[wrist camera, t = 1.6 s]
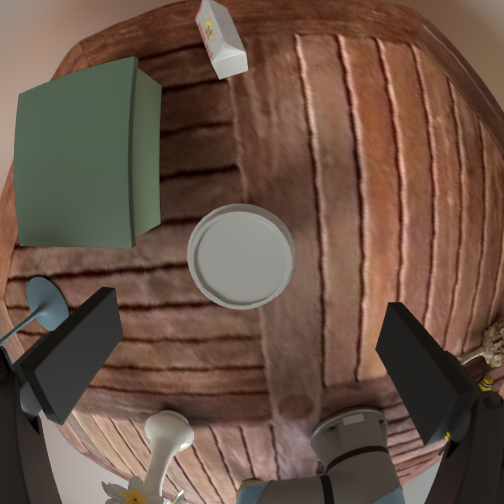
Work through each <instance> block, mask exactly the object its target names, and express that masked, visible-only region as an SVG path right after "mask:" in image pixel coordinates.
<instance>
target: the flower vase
mask: <svg viewBox="0 0 504 504" xmlns="http://www.w3.org/2000/svg"><path fill="white" fill-rule="evenodd" d="M144 431H145V434H146V437H147V439H148V440H149V442H150V443H151V449H152V452H151V458H150V462H149V466H148V469H147V473H146V476H145V479H144V481H143V482H142V480H141V478H140V477H138V476H134V477H132V478H131V479H130V481H129V485H128V489H129V490H127V489H125V488H123V487H121V486H119V485H116V484H110V483H109V484H108V485H106V484H105V483H104V482H103V481H102V487H103V489H104V491H105V492H106V494H107V495H108V496H110V497H112V499H108V500H107V501H106V503H105V504H163V502H164V499H163V498H162V497H161V493H162V485H163V481H164V478H165V475H166V472H167V469H168V466H169V464H170V461H171V460H172V458H173V457H174V456H175V455H176V454H177V453H178V452H181V451H183V450H185V449H187V448H189V446H190V445H191V444H192V443H193V441H194V432H193V430H192V428H191V427H190V425H189V423H188V420H187V419H186V418H185V417H184V416H183V415H181V414H180V413H178V412H175V411H171V410H163V411H161V412H159V413H158V414H154V415H152V416H150V417H149V418H147V420H146V422H145V425H144ZM183 498H184V490H182V491H180V492H179V493H178V495H177V496H176V497H175V498H174V499H173V500H172V501H171V502H167V503H166V504H178V503H180V502H181V501H182V500H183ZM183 504H190V503H183Z"/></svg>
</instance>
